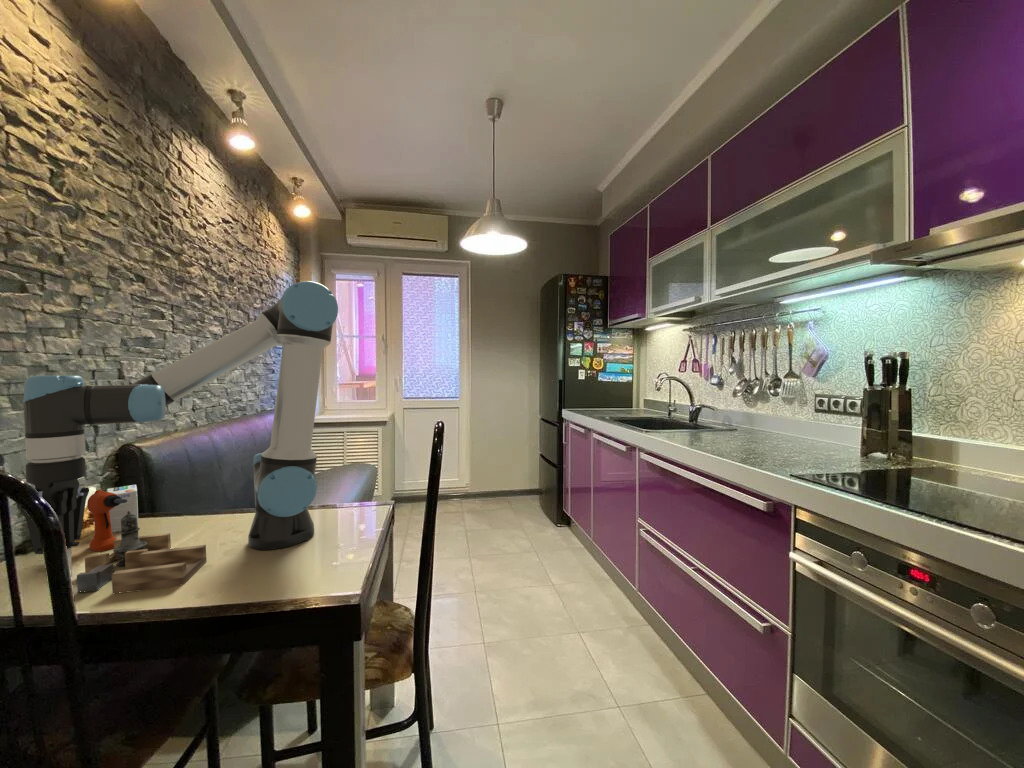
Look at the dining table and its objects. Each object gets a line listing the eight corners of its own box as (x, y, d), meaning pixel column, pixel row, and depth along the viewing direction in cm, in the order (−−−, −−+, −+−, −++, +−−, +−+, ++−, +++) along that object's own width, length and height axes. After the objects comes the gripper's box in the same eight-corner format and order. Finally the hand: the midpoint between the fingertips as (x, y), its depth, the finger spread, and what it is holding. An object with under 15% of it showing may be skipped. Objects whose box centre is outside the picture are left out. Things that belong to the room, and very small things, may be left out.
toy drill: (117, 555, 99) (110, 491, 99) (86, 551, 108) (79, 492, 108) (143, 547, 103) (136, 486, 104) (111, 544, 112) (104, 487, 112)
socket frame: (170, 549, 106) (170, 533, 105) (145, 568, 95) (144, 550, 95) (117, 555, 103) (116, 538, 102) (85, 575, 92) (84, 557, 92)
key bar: (116, 576, 91) (115, 560, 91) (97, 590, 85) (96, 573, 85) (98, 579, 90) (97, 562, 90) (77, 593, 84) (76, 575, 84)
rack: (206, 561, 98) (205, 544, 97) (183, 584, 87) (182, 565, 87) (144, 569, 94) (143, 551, 94) (112, 594, 84) (111, 574, 84)
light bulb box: (107, 524, 125) (106, 488, 125) (138, 518, 129) (136, 483, 129) (106, 534, 117) (104, 495, 117) (139, 527, 122) (137, 490, 121)
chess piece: (109, 569, 95) (106, 516, 94) (119, 559, 100) (116, 509, 100) (143, 563, 98) (140, 512, 97) (151, 554, 103) (148, 505, 102)
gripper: (58, 453, 83) (61, 572, 84) (-2, 467, 71) (2, 606, 71) (104, 451, 85) (107, 567, 86) (54, 464, 73) (58, 599, 73)
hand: (60, 584), depth 79 cm, fingers closed
